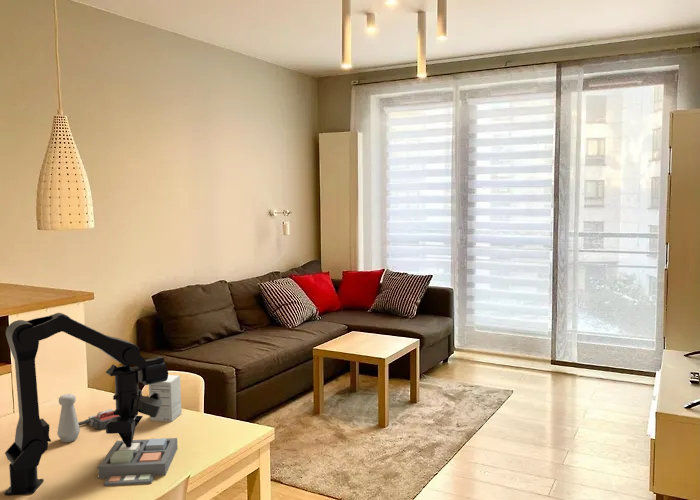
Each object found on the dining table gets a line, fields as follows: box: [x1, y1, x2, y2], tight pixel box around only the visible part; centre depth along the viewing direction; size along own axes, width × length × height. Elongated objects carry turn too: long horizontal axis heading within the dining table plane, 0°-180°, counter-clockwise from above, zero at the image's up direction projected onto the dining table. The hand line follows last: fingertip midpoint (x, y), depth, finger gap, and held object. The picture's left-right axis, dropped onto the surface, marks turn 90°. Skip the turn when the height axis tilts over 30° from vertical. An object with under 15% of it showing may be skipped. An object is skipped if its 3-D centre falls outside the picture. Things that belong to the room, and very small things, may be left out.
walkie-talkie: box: [78, 408, 120, 431], centre depth 182 cm, size 9×4×20 cm
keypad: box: [97, 437, 178, 487], centre depth 153 cm, size 20×16×3 cm
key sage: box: [110, 450, 133, 464], centre depth 151 cm, size 4×4×2 cm
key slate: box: [146, 437, 167, 451], centre depth 159 cm, size 4×4×2 cm
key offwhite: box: [118, 443, 140, 451], centre depth 158 cm, size 4×4×2 cm
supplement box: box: [148, 374, 182, 423], centre depth 188 cm, size 7×7×13 cm
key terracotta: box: [139, 452, 161, 462], centre depth 152 cm, size 4×4×2 cm
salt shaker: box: [56, 393, 81, 444], centre depth 170 cm, size 6×6×13 cm
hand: (129, 446), depth 158 cm, fingers closed, pressing on key offwhite
